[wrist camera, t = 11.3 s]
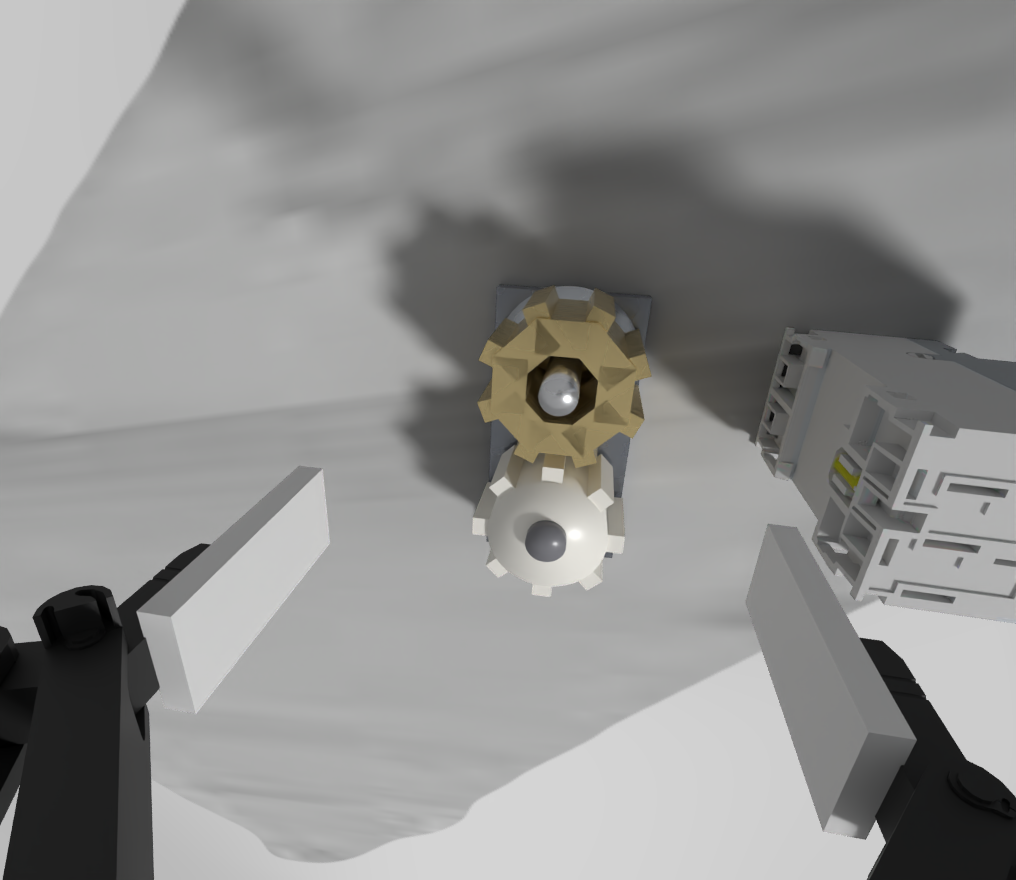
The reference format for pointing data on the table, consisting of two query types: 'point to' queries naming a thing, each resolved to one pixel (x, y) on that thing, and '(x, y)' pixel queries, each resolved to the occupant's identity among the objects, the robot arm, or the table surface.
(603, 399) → the brass gear
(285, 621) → the table surface
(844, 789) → the robot arm
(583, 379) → the gear plate
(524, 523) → the gear
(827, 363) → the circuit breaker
